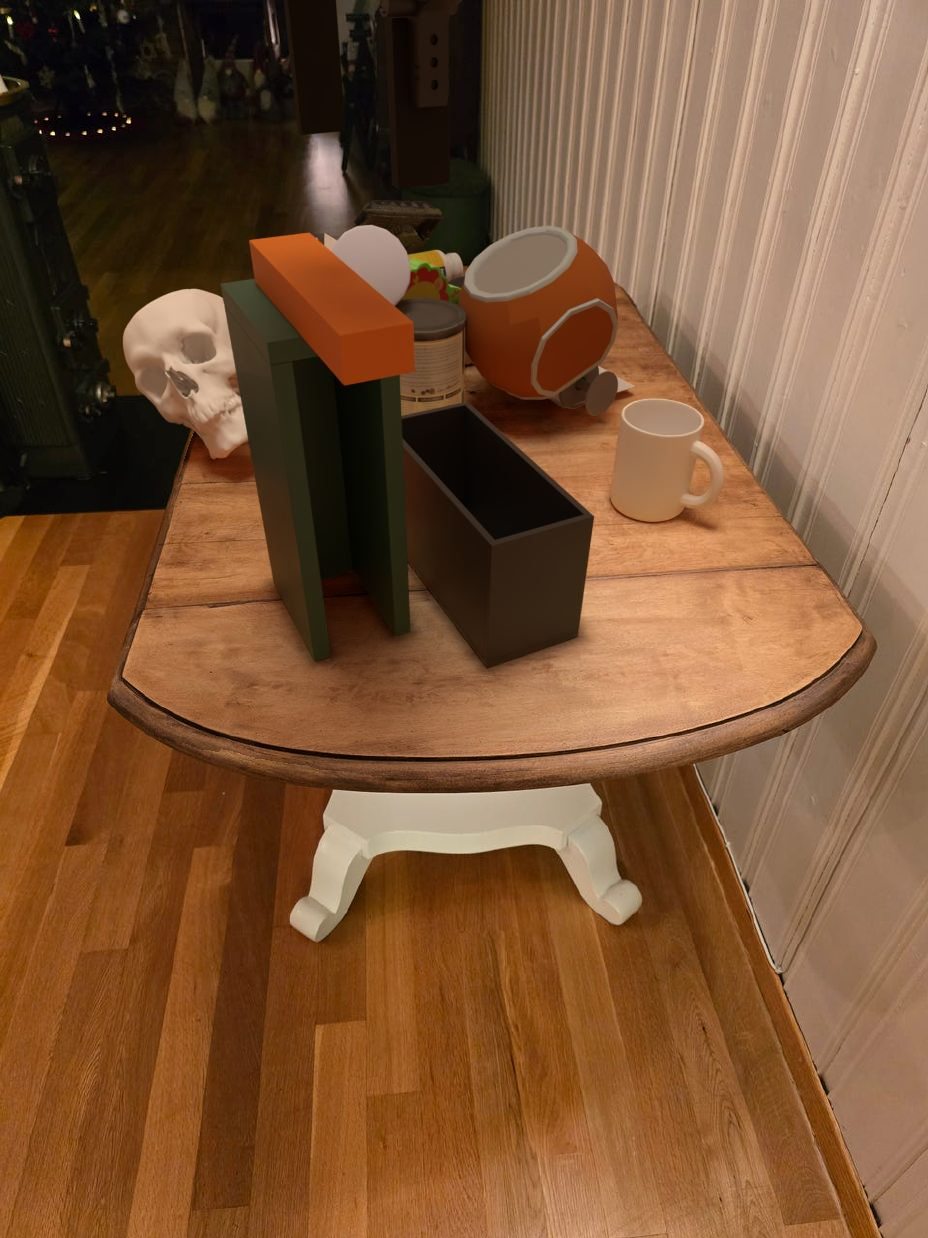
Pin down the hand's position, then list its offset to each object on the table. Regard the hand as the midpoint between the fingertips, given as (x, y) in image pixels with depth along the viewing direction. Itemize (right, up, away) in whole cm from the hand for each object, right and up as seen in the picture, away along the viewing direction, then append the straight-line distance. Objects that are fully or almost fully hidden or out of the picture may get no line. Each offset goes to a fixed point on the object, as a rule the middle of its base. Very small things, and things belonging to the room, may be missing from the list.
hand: (366, 156), depth 44 cm
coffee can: (0, -1, +58) cm, 58 cm away
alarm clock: (+18, +6, +51) cm, 54 cm away
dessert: (+20, +6, +67) cm, 70 cm away
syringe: (+22, +3, +57) cm, 62 cm away
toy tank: (-11, +39, +90) cm, 98 cm away
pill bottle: (-6, +31, +90) cm, 95 cm away
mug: (+27, -13, +45) cm, 54 cm away
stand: (-6, -24, +32) cm, 40 cm away
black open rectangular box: (+6, -21, +35) cm, 42 cm away
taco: (0, +10, +71) cm, 71 cm away
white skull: (-19, -5, +53) cm, 56 cm away
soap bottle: (-5, +14, +46) cm, 48 cm away
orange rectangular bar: (-4, -5, +11) cm, 12 cm away
